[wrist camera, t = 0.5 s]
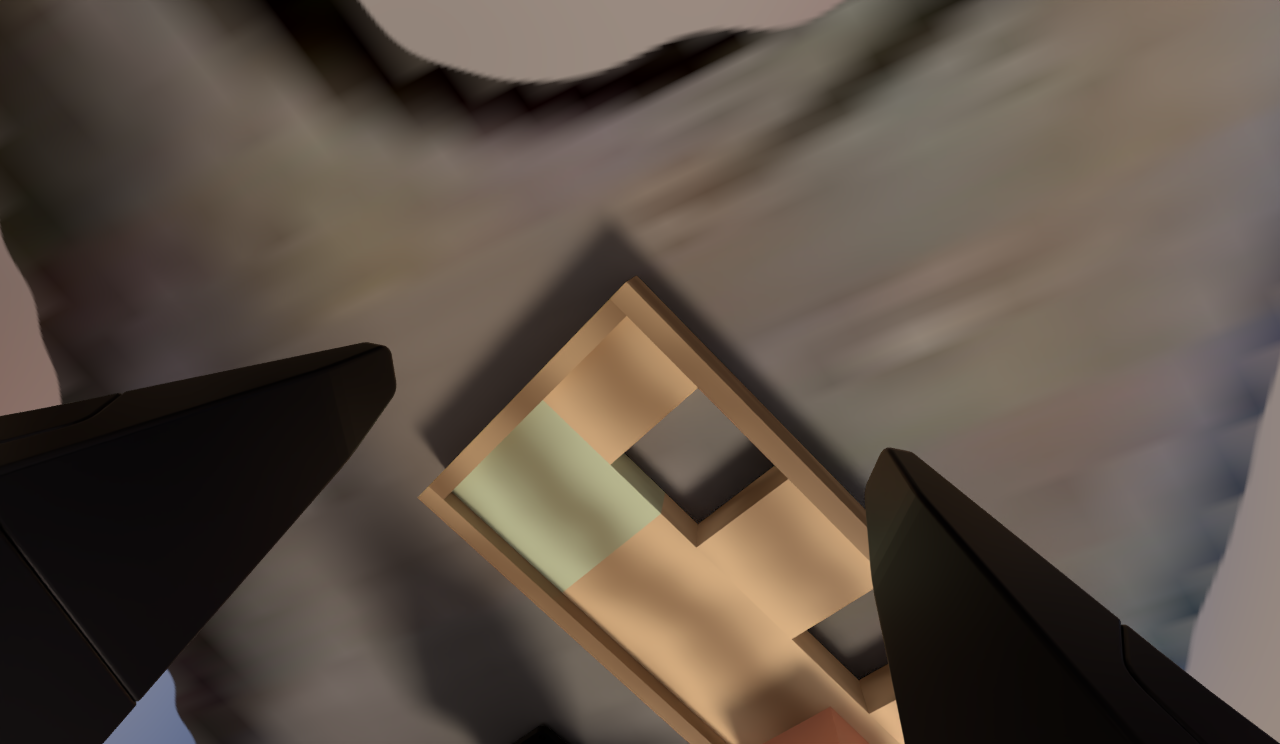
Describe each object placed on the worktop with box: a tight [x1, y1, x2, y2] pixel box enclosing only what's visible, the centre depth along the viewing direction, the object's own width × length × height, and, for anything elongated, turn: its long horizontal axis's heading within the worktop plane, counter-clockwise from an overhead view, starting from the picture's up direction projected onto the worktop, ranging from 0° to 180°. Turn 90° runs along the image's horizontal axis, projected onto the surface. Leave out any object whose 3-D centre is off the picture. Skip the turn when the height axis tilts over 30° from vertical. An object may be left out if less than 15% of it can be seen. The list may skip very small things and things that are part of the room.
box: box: [418, 276, 905, 744], centre depth 25 cm, size 16×30×3 cm, turn 45°
